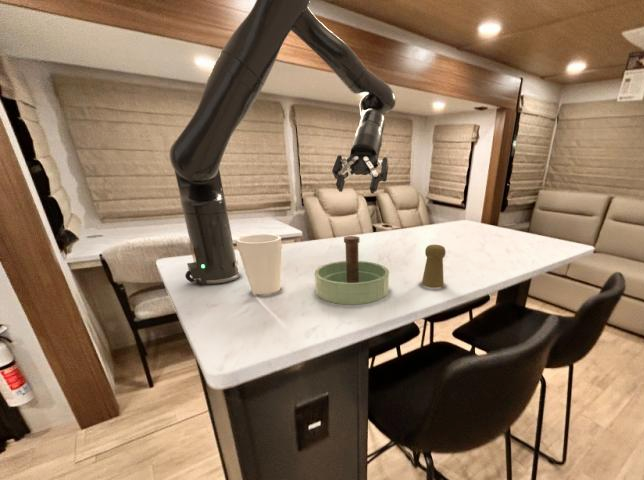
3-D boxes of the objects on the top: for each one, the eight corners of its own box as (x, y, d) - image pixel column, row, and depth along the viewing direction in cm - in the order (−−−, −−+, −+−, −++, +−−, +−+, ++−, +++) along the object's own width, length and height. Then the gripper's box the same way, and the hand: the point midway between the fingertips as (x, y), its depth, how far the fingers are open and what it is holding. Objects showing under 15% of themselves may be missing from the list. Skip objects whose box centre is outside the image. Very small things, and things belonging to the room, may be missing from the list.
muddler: (349, 294, 74) (348, 240, 69) (340, 288, 77) (338, 236, 72) (365, 290, 76) (364, 238, 71) (355, 285, 79) (354, 235, 74)
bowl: (339, 313, 65) (338, 289, 63) (304, 288, 78) (302, 267, 75) (402, 295, 76) (403, 274, 74) (363, 276, 88) (363, 257, 86)
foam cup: (295, 288, 78) (289, 236, 73) (269, 301, 70) (261, 244, 64) (264, 282, 80) (257, 232, 75) (236, 295, 72) (226, 240, 67)
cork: (442, 290, 80) (447, 249, 76) (419, 288, 81) (422, 247, 77) (444, 283, 85) (448, 243, 81) (422, 280, 86) (425, 241, 82)
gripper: (338, 131, 82) (324, 178, 76) (391, 132, 80) (380, 181, 74) (345, 153, 89) (333, 198, 83) (394, 155, 87) (384, 202, 81)
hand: (355, 190), depth 79 cm, fingers open, 8 cm apart
